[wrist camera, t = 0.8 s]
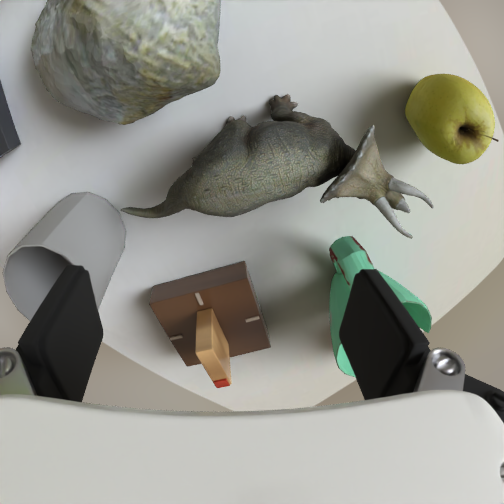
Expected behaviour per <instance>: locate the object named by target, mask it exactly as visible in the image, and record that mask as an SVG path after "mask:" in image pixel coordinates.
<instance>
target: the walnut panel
mask: <svg viewBox="0 0 504 504" xmlns="http://www.w3.org/2000/svg"><path fill="white" fill-rule="evenodd" d="M149 305H150V306H151V308H152V310H153V312H154V313H155V315H156V317H157V319H158V320H159V322H160V324H161V325H162V327H163V329H164V330H165V332H166V334H167V335H168V337H169V339H170V340H171V342H172V344H173V345H174V347H175V348H176V350H177V352H178V353H179V355H180V356H181V358H182V360H183V361H184V363H185V364H186V366H192V365H197V364H202V363H201V361H200V360H199V358H198V356H197V355H196V353H195V351H196V322H197V312H198V311H202V310H206V309H210V308H212V309H213V311H214V314H215V316H216V318H217V320H218V323H219V325H220V327H221V329H222V331H223V333H224V336H225V338H226V340H227V342H228V344H229V357H234V356H238V355H242V354H246V353H250V352H254V351H258V350H262V349H266V348H270V347H271V345H270V340H269V335H268V331H267V327H266V324H265V321H264V318H263V315H262V312H261V309H260V306H259V303H258V300H257V296H256V293H255V290H254V287H253V284H252V281H251V278H250V275H249V272H248V269H247V266H246V263H245V261H243V262H239V263H236V264H232V265H229V266H225V267H221V268H218V269H214V270H210V271H207V272H203V273H199V274H196V275H192V276H189V277H185V278H181V279H178V280H174V281H170V282H167V283H163V284H159V285H155V286H153V289H152V294H151V298H150V302H149Z"/></svg>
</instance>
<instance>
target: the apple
mask: <svg viewBox="0 0 504 504" xmlns="http://www.w3.org/2000/svg"><path fill="white" fill-rule="evenodd" d="M405 115H406V118H407V120H408V122H409V124H410V125H411V127H412V128H413V130H414V131H415V133H416V135H417V137H418V138H419V140H420V141H421V143H422V144H423V145H424V146H425V147H426V148H427V149H428V150H430V151H431V152H432V153H434V154H435V155H437V156H439V157H441V158H443V159H445V160H448V161H450V162H452V163H456V164H466V163H470V162H473V161H474V160H476V159H478V158H479V157H480V156H481V155H482V154H483V153H484V151H485V150H486V149H487V148H488V146H489V144H490V142H491V140H492V139H493V140H495V141H497V142H498V140H497V139H494V138H492V137H493V133H494V128H495V120H494V114H493V111H492V108H491V105H490V103H489V101H488V100H487V98H486V97H485V96H484V94H483V93H482V92H481V91H480V90H479V89H478V88H477V87H476V86H475V85H473V84H472V83H470V82H469V81H467V80H465V79H463V78H461V77H459V76H455V75H450V74H435V75H430V76H427V77H424V78H423V79H422V80H420V81H419V82H418V84H417V85H416V86H415V87H414V89H413V91H412V92H411V94H410V97H409V99H408V102H407V104H406V108H405Z"/></svg>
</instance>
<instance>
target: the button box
mask: <svg viewBox="0 0 504 504" xmlns="http://www.w3.org/2000/svg"><path fill="white" fill-rule="evenodd" d="M20 144H21V143H20V140H19V138H18V135H17V132H16V129H15V126H14V123H13V120H12V117H11V114H10V111H9V108H8V105H7V102H6V98H5V95H4V91H3V88H2V84H1V81H0V158H1V157H2V156H3V155H5V154H6V153H8V152H10V151H11V150H13V149H14V148H16V147H17V146H19V145H20Z"/></svg>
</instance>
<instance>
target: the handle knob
mask: <svg viewBox="0 0 504 504" xmlns="http://www.w3.org/2000/svg"><path fill="white" fill-rule="evenodd" d="M195 353H196V355H197V356H198V358H199V360H200V361H201V363H202V365H203V366H204V368H205V370H206V371H207V373H208V375H209V376H210V378H211V380H212V381H213V383H214V385H215V386H216V387H217V388H221V387H226V386H230V384H231V371H230V357H229V344H228V342H227V340H226V338H225V336H224V333H223V331H222V329H221V327H220V325H219V323H218V320H217V318H216V316H215V314H214V311H213V309H212V308H210V309H206V310H202V311H198V312H197V322H196V351H195Z"/></svg>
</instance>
